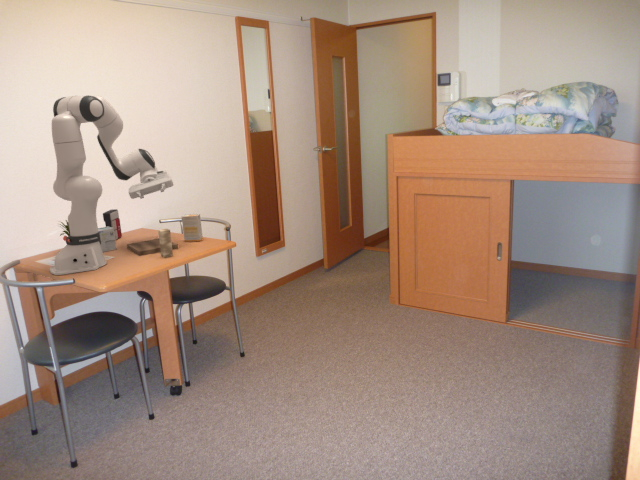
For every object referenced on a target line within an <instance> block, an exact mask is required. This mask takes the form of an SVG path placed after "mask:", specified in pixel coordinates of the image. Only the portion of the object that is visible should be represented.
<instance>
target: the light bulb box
mask: <svg viewBox="0 0 640 480" xmlns="http://www.w3.org/2000/svg"><path fill="white" fill-rule="evenodd" d="M98 232H99V233H100V237H101V248H102V251H103V253H106V252H110V251H114V250H117V249H118V248H117V242H116V240H115V233H114V228H113V227H109V226H107V227H106V226H103V227H99V228H98Z"/></svg>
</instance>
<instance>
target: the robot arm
mask: <svg viewBox="0 0 640 480" xmlns="http://www.w3.org/2000/svg"><path fill="white" fill-rule="evenodd" d="M52 111H53V118H52V119H51V136H52V142H53V148H54V153H55V159H56V176H55V180H54V182H53V184H52V185H53V187H52V189H53V192H54V194H55V195H56V196H57V197H59V198H61V199H62V200H64V201H70V202H71V206H70V213H69V214H68V216H67V221H68V223H69V229H70V235H69V236H68V235H63V237H62V239H63V241H64V242H65V243H66V245H65V246H64V247H63V248H61V250H60V251H59V252H57V253H56V254H55V257H54V265H53V266H51V267H50V268H49V272H50V274H52V275H55V276H62V275H68V274H75V273H81V272H88V271H95V270H97V269H100V268H101V267H103V266H106V264H108V262H107V259H106V257H105V255H104V252H103V251H102V248H101V237H100V233H99V232H98V222H97V221H98V219H97V207H98V202H99V199H100V198H101V197H102V194H103V187H102V184H101V182H100V181H99V180H98V179H96V178H94V177H92V176H90V175H83V169H84V164H85V163H86V160H87V156H86V150H85V145H84V141H83V140H84V139H83V136H82V131H81V124H86V123H93V124H94V126H95V127H96V129H97V130H98V134H97V136H96V138H97V142H98V144H99V147H100V148H101V151H102V152H103V154H104V155H105V158H106V159H107V161H108V163H109V165H110V166H111V169H112V171H113V174H114V175H115V176H116V178H117V179H118V180H121V181H128V180H129V179H132V177H134V176H136V175H137V174H139V178H140V180H139V181H140V183H136V184H134V185H133V184H132V185H131V186H130V187H129V188H128V196H129V198H130V199H132V200H134V199H137V198H140V200H141V199H144V198H145V196H146V195H150V194H152V193H156V192H159V191H160V193H163V192H165V190H167V189H169V188H171V187H173V186H174V185H175V184H174V182H173V179H172V177H171V175H170V174H169V173H168V172H167V171H166V170H160V171H159V169H158V168H157V167H156V162H155V160H154V158H153V156H152V155H151V153H150V152H149V151H147V150H146V149H144V148H137V149H136V150H134V151H132V152H130V153H129V154H127V155H125V156H123V157H122V158H118V156H117V155H116V153H115V151H114V150H113V148H112V146H113V145H114V143H115V141H116V140H117V139H118V138H119V137H120V135H121V134H122V131H123V129H124V122H123V121H124V120H123V119H122V117H121V115H120V114H119V113H118V112H117V111H116V109H115V108H114V107H113V106H112V105H111V104H110V102H108V101H107V100H106V99H105V98H104V97H102V96H101V95H71V96H64V97H63V96H62V97H60V98H58V99H56V101H54V103H53V107H52Z"/></svg>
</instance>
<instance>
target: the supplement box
mask: <svg viewBox="0 0 640 480" xmlns="http://www.w3.org/2000/svg"><path fill="white" fill-rule="evenodd" d="M181 222H182V223H181V224H182V231H183V238H184V242H185V243H186V242H190V243H191V242H201V241H203V240H204V238H203V237H204V236H203V231H202V230H203V229H202V221H201V214H200V213H196V214H195V213H192V214H191V213H190V214H183V215H182V216H181Z"/></svg>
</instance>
